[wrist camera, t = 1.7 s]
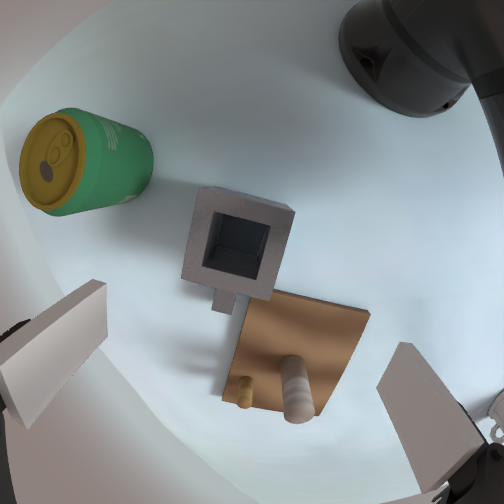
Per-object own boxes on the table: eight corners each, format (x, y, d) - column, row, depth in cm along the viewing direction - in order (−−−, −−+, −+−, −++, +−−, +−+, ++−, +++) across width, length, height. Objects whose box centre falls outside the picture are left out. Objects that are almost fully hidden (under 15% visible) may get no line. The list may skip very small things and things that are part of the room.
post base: (254, 284, 28) (251, 327, 20) (367, 310, 29) (400, 354, 20) (222, 395, 32) (213, 448, 23) (317, 411, 33) (328, 461, 24)
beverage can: (81, 167, 26) (4, 168, 14) (127, 113, 24) (57, 83, 13) (121, 218, 27) (47, 242, 16) (172, 164, 26) (111, 154, 14)
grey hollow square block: (215, 186, 26) (199, 187, 19) (286, 204, 26) (295, 212, 20) (192, 293, 29) (173, 325, 22) (256, 310, 29) (255, 346, 22)
